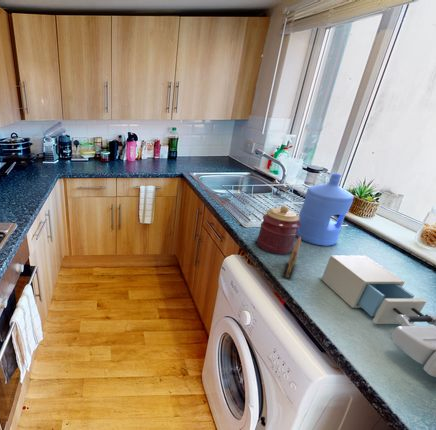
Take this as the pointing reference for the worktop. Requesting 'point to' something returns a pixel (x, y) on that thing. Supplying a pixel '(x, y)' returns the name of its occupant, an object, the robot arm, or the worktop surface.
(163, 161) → the worktop surface
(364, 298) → the cabinet drawer
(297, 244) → the ammunition clip
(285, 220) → the kitchen canister
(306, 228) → the water jug
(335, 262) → the small drawer cabinet
